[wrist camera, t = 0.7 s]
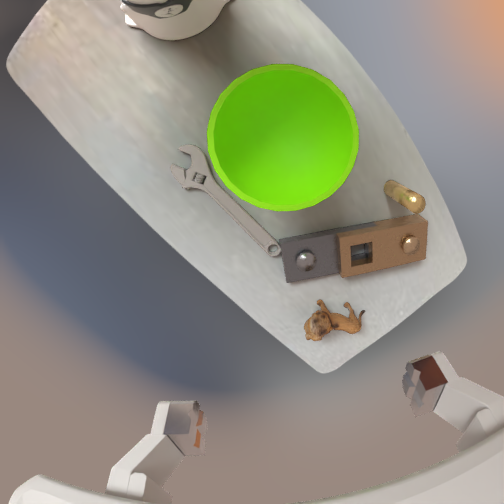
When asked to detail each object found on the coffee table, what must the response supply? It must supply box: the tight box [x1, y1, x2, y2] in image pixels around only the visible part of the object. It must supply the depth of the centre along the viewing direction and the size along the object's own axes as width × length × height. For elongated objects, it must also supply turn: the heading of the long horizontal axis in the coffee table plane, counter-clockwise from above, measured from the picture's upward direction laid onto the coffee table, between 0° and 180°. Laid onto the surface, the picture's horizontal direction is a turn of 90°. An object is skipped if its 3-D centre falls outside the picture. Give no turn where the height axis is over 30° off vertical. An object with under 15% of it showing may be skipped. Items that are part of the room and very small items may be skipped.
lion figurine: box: [304, 300, 365, 341], centre depth 56 cm, size 15×5×9 cm, turn 87°
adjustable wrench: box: [170, 145, 281, 256], centre depth 50 cm, size 25×6×2 cm, turn 38°
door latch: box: [279, 214, 428, 283], centre depth 52 cm, size 8×28×5 cm, turn 101°
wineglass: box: [207, 64, 359, 211], centre depth 37 cm, size 16×16×18 cm
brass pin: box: [384, 180, 425, 214], centre depth 45 cm, size 3×3×10 cm
